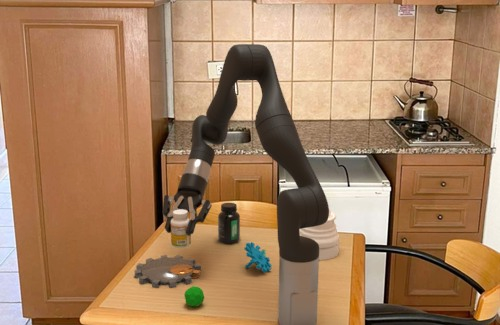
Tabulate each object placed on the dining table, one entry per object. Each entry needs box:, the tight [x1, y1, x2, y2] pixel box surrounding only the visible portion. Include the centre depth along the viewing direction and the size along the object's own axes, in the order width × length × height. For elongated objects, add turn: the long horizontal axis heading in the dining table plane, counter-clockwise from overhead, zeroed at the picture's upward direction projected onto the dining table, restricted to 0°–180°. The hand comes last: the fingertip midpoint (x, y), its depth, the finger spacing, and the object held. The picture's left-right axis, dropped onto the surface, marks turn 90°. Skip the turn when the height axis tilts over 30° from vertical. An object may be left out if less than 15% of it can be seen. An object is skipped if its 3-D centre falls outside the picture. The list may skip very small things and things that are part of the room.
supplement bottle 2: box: [217, 202, 241, 245], centre depth 199 cm, size 7×7×12 cm
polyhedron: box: [184, 285, 205, 308], centre depth 159 cm, size 5×5×5 cm
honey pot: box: [299, 209, 340, 261], centre depth 191 cm, size 13×13×18 cm
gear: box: [244, 241, 272, 273], centre depth 180 cm, size 11×6×10 cm
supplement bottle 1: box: [170, 209, 192, 249], centre depth 173 cm, size 5×5×10 cm
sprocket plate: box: [134, 254, 202, 289], centre depth 177 cm, size 18×18×2 cm
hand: (178, 232), depth 172 cm, fingers closed on supplement bottle 1, 5 cm apart
